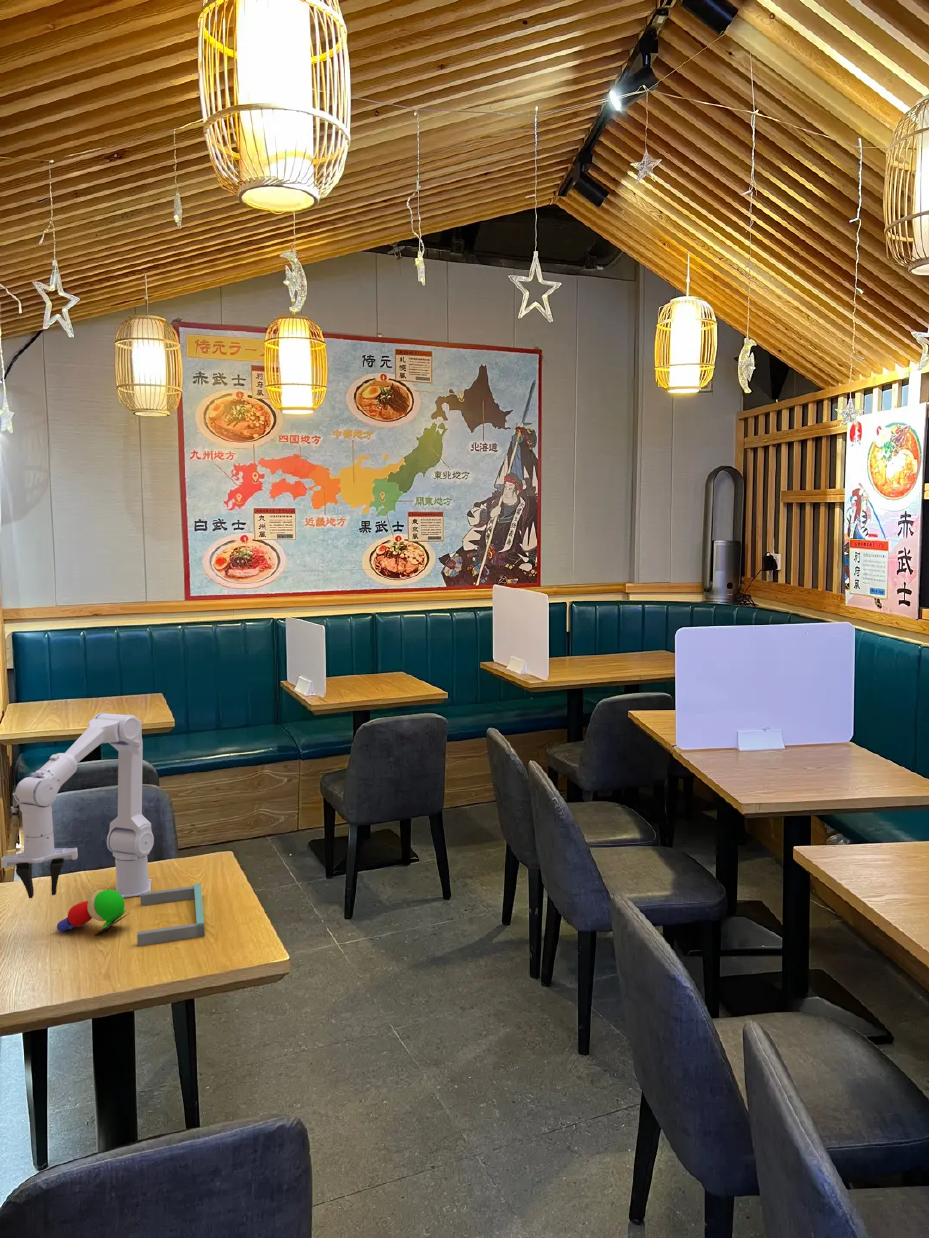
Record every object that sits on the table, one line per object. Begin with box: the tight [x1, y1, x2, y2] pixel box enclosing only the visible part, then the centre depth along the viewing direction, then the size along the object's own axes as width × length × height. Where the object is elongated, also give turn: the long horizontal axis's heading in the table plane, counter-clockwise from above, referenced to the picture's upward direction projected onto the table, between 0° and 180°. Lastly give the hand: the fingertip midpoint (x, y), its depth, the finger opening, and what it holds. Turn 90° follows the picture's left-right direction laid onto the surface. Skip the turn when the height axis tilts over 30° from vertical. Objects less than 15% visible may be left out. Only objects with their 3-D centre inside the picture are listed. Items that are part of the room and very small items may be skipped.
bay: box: [136, 882, 206, 947], centre depth 202 cm, size 23×14×3 cm, turn 18°
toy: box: [56, 889, 132, 935], centre depth 197 cm, size 8×8×15 cm
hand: (42, 894), depth 193 cm, fingers open, 4 cm apart
